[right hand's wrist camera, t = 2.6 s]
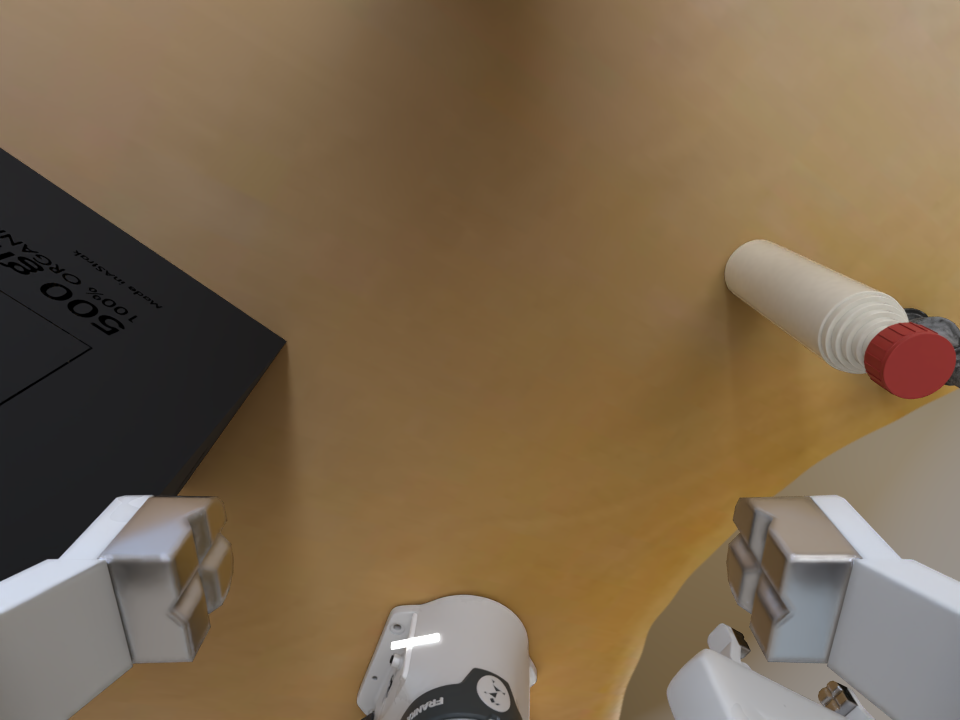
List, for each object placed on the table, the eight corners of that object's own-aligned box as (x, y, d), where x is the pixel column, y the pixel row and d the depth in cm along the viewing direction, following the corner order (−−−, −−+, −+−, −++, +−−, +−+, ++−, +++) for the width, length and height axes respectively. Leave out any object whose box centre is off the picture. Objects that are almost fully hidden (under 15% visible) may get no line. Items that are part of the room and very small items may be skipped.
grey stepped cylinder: (948, 329, 59) (1057, 380, 48) (898, 376, 61) (992, 436, 50) (906, 292, 58) (1007, 336, 47) (856, 342, 60) (942, 395, 49)
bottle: (783, 298, 59) (955, 405, 37) (722, 302, 59) (858, 411, 38) (790, 237, 57) (975, 314, 35) (726, 241, 57) (873, 320, 36)
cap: (926, 383, 39) (949, 397, 37) (857, 387, 39) (877, 401, 37) (938, 319, 37) (963, 330, 35) (867, 323, 37) (889, 335, 35)
